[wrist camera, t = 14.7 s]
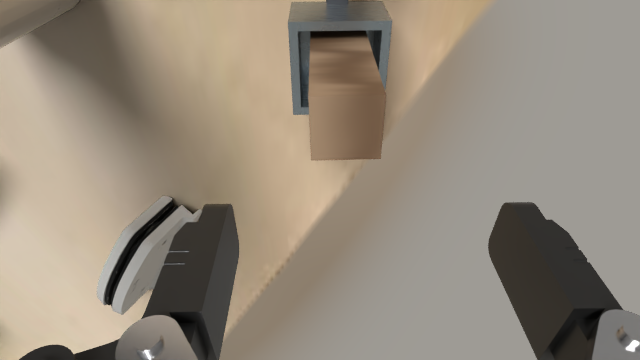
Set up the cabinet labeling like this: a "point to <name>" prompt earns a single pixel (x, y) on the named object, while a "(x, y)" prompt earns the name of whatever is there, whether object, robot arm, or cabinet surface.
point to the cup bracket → (333, 18)
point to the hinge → (141, 254)
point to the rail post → (344, 97)
